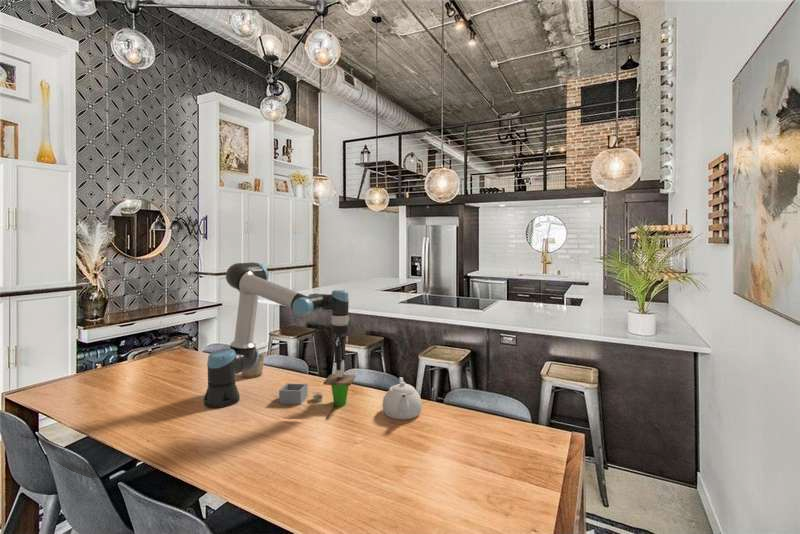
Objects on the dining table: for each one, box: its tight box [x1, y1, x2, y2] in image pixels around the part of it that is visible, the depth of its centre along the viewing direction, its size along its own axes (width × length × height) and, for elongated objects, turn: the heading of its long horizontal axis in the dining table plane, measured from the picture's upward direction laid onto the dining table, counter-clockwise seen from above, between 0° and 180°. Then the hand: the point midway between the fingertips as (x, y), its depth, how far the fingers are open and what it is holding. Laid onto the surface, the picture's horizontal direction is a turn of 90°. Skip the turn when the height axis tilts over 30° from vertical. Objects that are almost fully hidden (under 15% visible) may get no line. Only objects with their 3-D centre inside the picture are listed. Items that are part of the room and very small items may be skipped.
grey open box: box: [278, 382, 309, 405], centre depth 184 cm, size 10×10×7 cm
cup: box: [330, 385, 349, 408], centre depth 181 cm, size 9×9×11 cm
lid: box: [323, 360, 356, 387], centre depth 181 cm, size 12×12×9 cm
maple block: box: [312, 391, 323, 403], centre depth 184 cm, size 4×4×4 cm
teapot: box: [382, 376, 423, 421], centre depth 173 cm, size 19×18×14 cm
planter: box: [240, 354, 265, 379], centre depth 224 cm, size 13×13×10 cm
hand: (340, 375), depth 181 cm, fingers closed on lid, 3 cm apart
